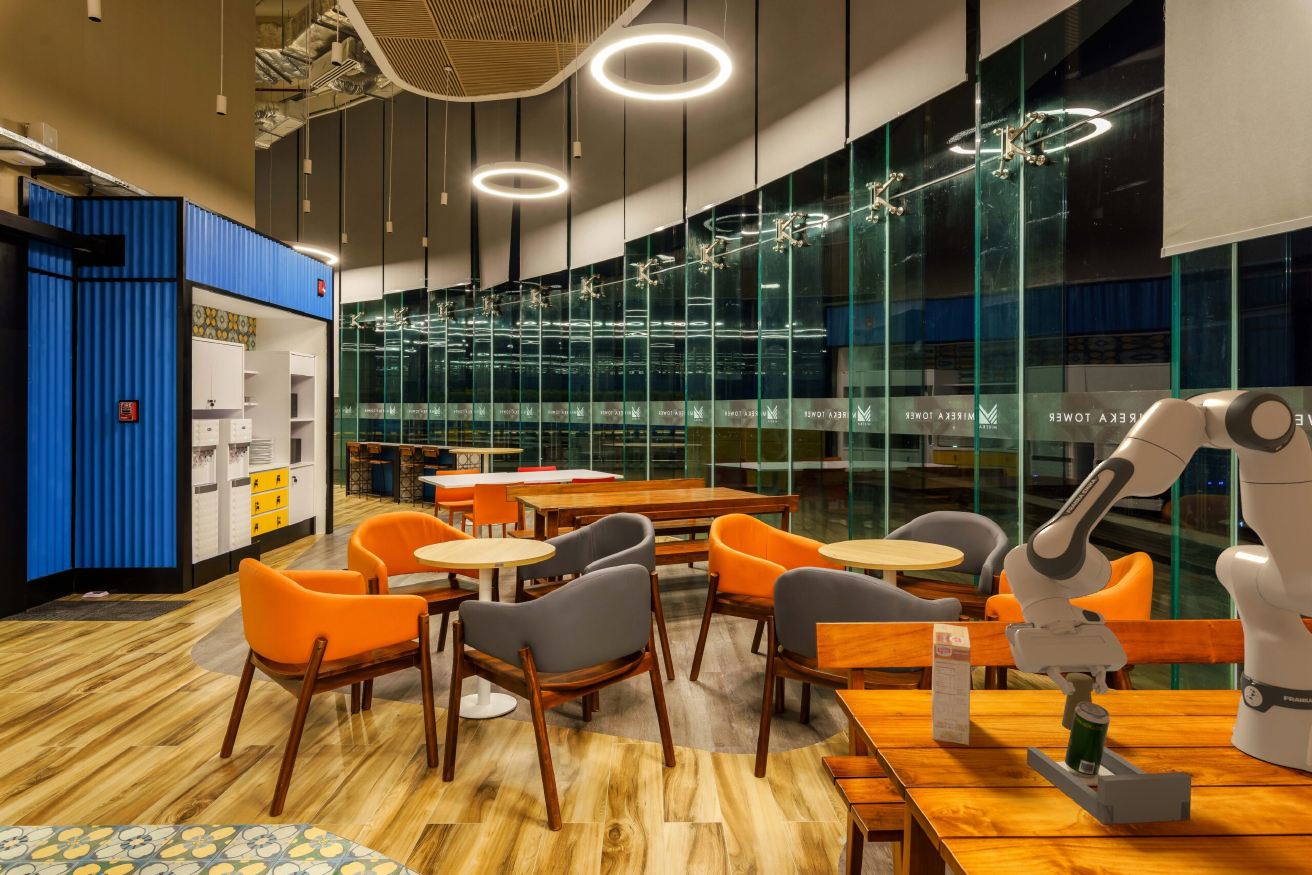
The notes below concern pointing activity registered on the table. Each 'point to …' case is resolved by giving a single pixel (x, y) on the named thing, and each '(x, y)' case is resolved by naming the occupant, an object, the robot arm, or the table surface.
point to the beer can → (1087, 739)
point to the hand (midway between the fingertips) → (1086, 693)
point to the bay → (1120, 789)
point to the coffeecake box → (951, 684)
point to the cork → (1076, 695)
